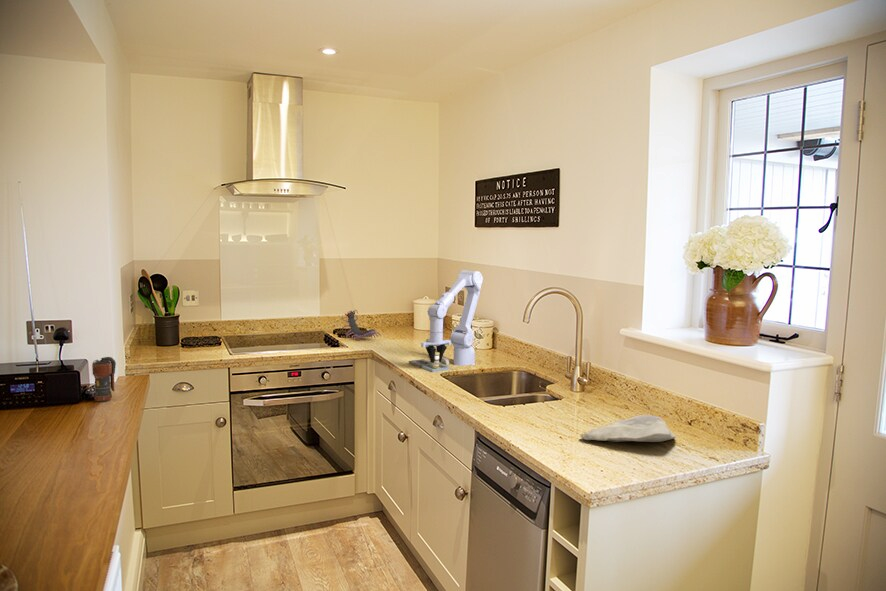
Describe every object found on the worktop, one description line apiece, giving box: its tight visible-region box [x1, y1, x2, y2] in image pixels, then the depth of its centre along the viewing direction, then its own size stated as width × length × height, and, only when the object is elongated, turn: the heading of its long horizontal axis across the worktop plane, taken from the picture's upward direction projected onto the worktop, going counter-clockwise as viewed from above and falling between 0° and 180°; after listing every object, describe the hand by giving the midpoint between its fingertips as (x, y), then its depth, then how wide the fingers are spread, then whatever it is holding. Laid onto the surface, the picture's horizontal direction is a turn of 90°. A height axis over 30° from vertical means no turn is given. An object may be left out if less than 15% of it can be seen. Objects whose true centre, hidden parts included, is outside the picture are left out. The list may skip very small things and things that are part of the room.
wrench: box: [425, 338, 450, 366], centre depth 291 cm, size 8×2×30 cm
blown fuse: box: [431, 352, 440, 369], centre depth 268 cm, size 3×3×6 cm
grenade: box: [91, 356, 117, 403], centre depth 213 cm, size 6×8×15 cm
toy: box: [341, 309, 382, 341], centre depth 342 cm, size 12×26×15 cm, turn 42°
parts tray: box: [421, 363, 451, 373], centre depth 269 cm, size 9×9×2 cm
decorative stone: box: [580, 414, 677, 443], centre depth 186 cm, size 28×7×30 cm
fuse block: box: [408, 358, 432, 369], centre depth 277 cm, size 8×10×2 cm
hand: (435, 362), depth 268 cm, fingers closed on blown fuse, 3 cm apart
